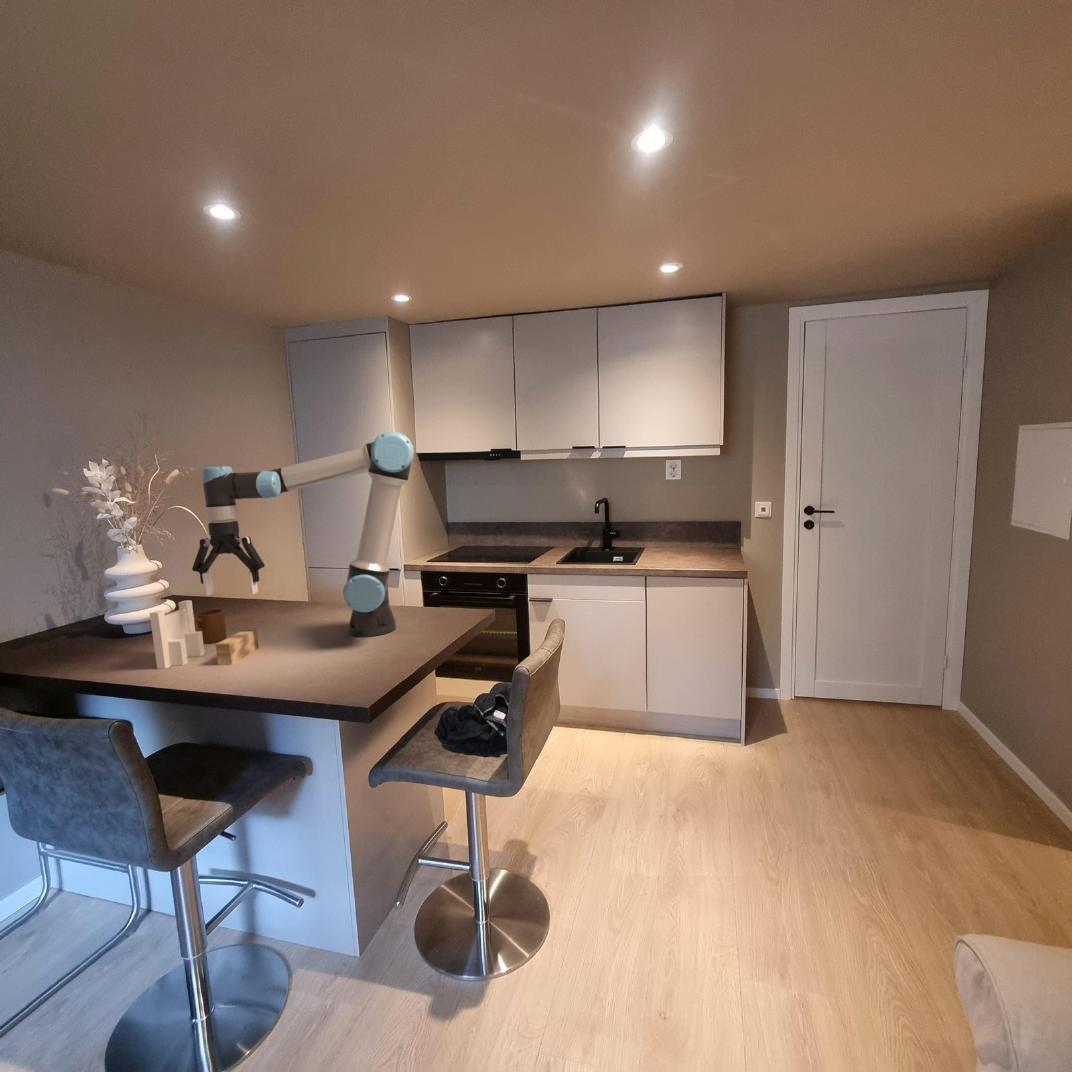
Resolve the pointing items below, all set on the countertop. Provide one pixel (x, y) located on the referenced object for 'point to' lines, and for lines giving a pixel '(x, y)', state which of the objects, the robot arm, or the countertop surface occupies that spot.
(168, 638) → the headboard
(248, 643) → the wooden block
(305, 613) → the countertop surface
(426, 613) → the countertop surface
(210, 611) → the mug
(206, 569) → the robot arm
